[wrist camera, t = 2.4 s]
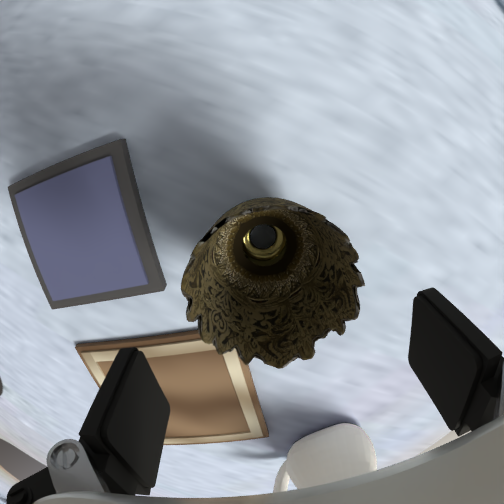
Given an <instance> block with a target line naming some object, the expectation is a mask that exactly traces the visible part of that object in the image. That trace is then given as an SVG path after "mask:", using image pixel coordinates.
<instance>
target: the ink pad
mask: <svg viewBox="0 0 504 504" xmlns="http://www.w3.org/2000/svg"><path fill="white" fill-rule="evenodd" d="M8 190H9V194H10V198H11V201H12V205H13V209H14V212H15V215H16V219H17V222H18V225H19V228H20V231H21V234H22V237H23V240H24V243H25V246H26V248H27V251H28V254H29V257H30V259H31V262H32V264H33V267H34V269H35V272H36V274H37V277H38V279H39V282H40V284H41V286H42V289H43V291H44V293H45V295H46V298H47V300H48V302H49V304H50V306H51V308H52V309H58V308H64V307H70V306H77V305H83V304H89V303H95V302H101V301H107V300H113V299H119V298H125V297H131V296H137V295H143V294H148V293H154V292H160V291H164V289H165V287H166V285H167V284H166V281H165V278H164V275H163V272H162V269H161V266H160V263H159V260H158V257H157V254H156V250H155V247H154V244H153V241H152V237H151V234H150V231H149V227H148V224H147V221H146V217H145V214H144V210H143V207H142V203H141V199H140V196H139V192H138V188H137V184H136V180H135V177H134V173H133V169H132V165H131V160H130V156H129V152H128V148H127V143H126V139H120V140H117V141H114V142H111V143H108V144H105V145H103V146H100V147H97V148H94V149H92V150H89V151H87V152H84V153H81V154H79V155H76V156H74V157H72V158H69V159H67V160H64V161H62V162H60V163H57V164H55V165H53V166H50V167H48V168H46V169H44V170H41V171H39V172H37V173H35V174H33V175H31V176H29V177H27V178H25V179H22V180H20V181H18V182H16V183H14V184H12V185H11V186H9V187H8Z"/></svg>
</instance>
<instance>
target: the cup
mask: <svg viewBox="0 0 504 504" xmlns="http://www.w3.org/2000/svg"><path fill="white" fill-rule="evenodd" d="M325 218H326V217H325V216H323V215H321V214H319V213H317V212H314V211H312V210H310V209H308V208H306V207H304V206H302V205H300V204H297V203H295V202H292V201H289V200H286V199H281V198H271V197H266V198H257V199H252V200H249V201H246V202H243V203H241V204H239V205H237V206H235V207H233V208H232V209H230V210H229V211H227V212H226V213H225V214H224V215H223V216H222V217H221V218H219V219H218V220H217V222H216V223H215V224H214V225H213V226H212V227H211V229H210V230H209V231H208V232H207V233H206V235H205V236H204V237H203V238H202V239H201V240H200V241H199V242H198V243H197V245H196V246H195V248H194V250H193V252H192V254H191V258H190V260H189V263H188V265H187V267H186V269H185V271H184V274H183V278H182V283H181V291H182V294H183V295H184V297H186V299H187V301H188V306H187V310H186V316H187V320H188V322H194V321H196V320H198V332H199V335H200V337H201V339H202V341H203V342H204V343H207V344H209V345H210V344H213V346H215V348H216V351H217V353H218V354H219V355H221V354H225V353H227V352H231V351H233V350H234V348H235V349H236V351H237V353H238V357H239V358H240V359H241V360H242V361H243V363H244V364H245V365H248V364H249V363H250V362H251V360H252V359H253V358H254V357H255V358H258V359H260V360H262V361H263V362H264V364H267V365H270V366H273V367H276V368H284V367H285V366H287V365H288V364H289V363H290V362H292V361H294V360H295V359H297V358H301V359H302V360H307V359H311V358H313V356H314V354H315V350H314V346H315V341H317V340H318V339H321V338H325V337H326V336H327V334H328V333H329V331H331V330H332V331H336V332H337V333H338V334H339V335H340V336H341V335H343V334H344V332H345V329H346V326H345V321H350V320H355V319H357V318H358V315H359V312H360V304H359V298H358V295H357V287H362V286H365V283H364V280H363V277H362V274H361V272H360V271H359V270H358V269H357V268H356V266H355V265H354V263H357V262H358V261H357V260H358V259H359V256H358V253H357V252H356V250H355V249H354V248H353V247H352V244H351V243H350V240H349V238H348V236H347V235H346V234H345V233H344V232H343V231H342V230H341V229H339V228H338V227H337V226H336V225H334V224H333V223H331V222H329V221H328V220H326V219H325ZM262 224H266V225H269V226H271V227H272V228H273V229H274V231H275V233H276V240H275V242H274V244H273V245H272V246H271V247H269V248H267V249H259V248H257V247H255V246H254V245H253V244H252V243H251V240H250V233H251V231H252V229H253V228H254V227H256V226H258V225H262Z"/></svg>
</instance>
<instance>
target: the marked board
mask: <svg viewBox="0 0 504 504" xmlns="http://www.w3.org/2000/svg"><path fill="white" fill-rule="evenodd" d="M131 347H136V348H137V349H138V350H139V351H142V352H143V353H144V355H145V357H146V359H147V361H148V363H149V365H150V367H151V369H152V371H153V373H154V375H155V377H156V379H157V381H158V383H159V385H160V387H161V389H162V391H163V393H164V395H165V397H166V398H167V400H168V402H169V405H170V416H169V421H168V425H167V430H166V434H165V439H164V444H163V445H187V444H207V443H220V442H232V441H241V440H250V439H258V438H265V437H269V433H268V429H267V426H266V423H265V420H264V416H263V413H262V410H261V406H260V403H259V400H258V396H257V393H256V390H255V386H254V383H253V379H252V376H251V372H250V369H249V365H245V364H244V363H243V361H242V360H241V359H240V358H239V357H238V353H237V351H236V349H235V348H234V350H233V351H231V352H227V353H225V354H221V355H219V354H218V353H217V351H216V348H215V346H213V344H210V345H209V344H207V343H204V342H203V341H202V339H201V337H200V335H199V332H198V330H193V331H186V332H179V333H172V334H165V335H157V336H149V337H141V338H133V339H124V340H114V341H104V342H94V343H83V344H77V345H76V347H75V348H76V350H77V352H78V354H79V355H80V357H81V359H82V361H83V362H84V364H85V366H86V367H87V369H88V371H89V372H90V374H91V376H92V377H93V379H94V381H95V382H96V384H97V385H98V387H99V388H100V387H101V385H102V383H103V381H104V379H105V377H106V375H107V373H108V371H109V369H110V367H111V365H112V363H113V361H114V359H115V357H116V355H117V353H118V351H119V350H120V349H121V348H131Z"/></svg>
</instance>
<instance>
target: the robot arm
mask: <svg viewBox="0 0 504 504" xmlns="http://www.w3.org/2000/svg"><path fill="white" fill-rule="evenodd" d="M501 355H502V352H501V351H500V350H499V348H498V347H497V346H496V345H495V344H494V343H493V342H492V341H491V340H490V339H489V338H488V337H487V336H486V335H485V334H484V333H483V332H482V331H480V330H479V329H478V328H477V327H476V326H475V325H474V324H473V323H472V322H471V321H470V320H469V319H468V318H467V317H466V316H465V315H464V314H463V313H462V312H461V311H459V310H458V309H457V308H456V307H455V306H454V305H453V304H452V303H451V302H450V301H449V300H447V299H446V298H445V297H444V296H443V295H442V294H441V293H440V292H439V291H437V290H436V289H435V288H429V289H426V290H422V291H419V292H418V294H417V297H415V298H414V300H413V313H412V326H411V337H410V346H409V354H408V360H409V364H410V366H411V368H412V369H413V371H414V372H415V374H416V376H417V377H418V379H419V380H420V382H421V383H422V385H423V387H424V388H425V390H426V391H427V393H428V395H429V396H430V398H431V399H432V401H433V403H434V404H435V406H436V407H437V409H438V411H439V412H440V414H441V416H442V417H443V419H444V421H445V422H446V424H447V426H448V428H449V429H450V430H452V431H453V430H455V432H456V434H457V435H458V436H460V435H462V434H464V433H466V432H468V431H470V430H471V431H472V432H470V433H468V434H466V435H464V436H462V437H460V438H457V439H455V440H453V441H451V442H449V443H446V444H444V445H442V446H440V447H437V448H435V449H433V450H431V451H428V452H426V453H423V454H421V455H418V456H416V457H413V458H410V459H408V460H405V461H402V462H400V463H397V464H394V465H391V466H388V467H385V468H382V469H379V470H376V471H372V472H369V473H366V474H362V475H359V476H355V477H351V478H348V479H344V480H340V481H335V482H331V483H327V484H322V485H317V486H312V487H307V488H302V489H296V490H290V491H283V492H276V493H269V494H260V495H250V496H238V497H221V498H167V497H147V496H135V494H140V495H150V490H151V488H153V487H154V486H155V484H156V479H157V474H158V468H159V463H160V458H161V454H162V449H163V444H164V439H165V434H166V430H167V425H168V421H169V416H170V405H169V402H168V400H167V398H166V397H165V395H164V393H163V391H162V389H161V387H160V385H159V383H158V381H157V379H156V377H155V375H154V373H153V371H152V369H151V367H150V365H149V363H148V361H147V359H146V357H145V355H144V353H143V352H142V351H139V350H138V349H137V348H136V347H131V348H121V349H120V350H119V351H118V353H117V355H116V357H115V359H114V361H113V363H112V365H111V367H110V369H109V371H108V373H107V375H106V377H105V379H104V381H103V383H102V385H101V387H100V389H99V391H98V393H97V395H96V397H95V400H94V402H93V404H92V406H91V408H90V410H89V412H88V415H87V417H86V419H85V421H84V423H83V425H82V428H81V430H80V432H79V435H80V439H79V441H77V440H73V439H65V440H62V441H59V442H58V443H56V444H55V445H54V446H53V447H52V448H51V449H50V451H49V453H48V455H47V466H48V467H46V468H45V469H43V470H41V471H39V472H37V473H35V474H34V475H32V476H30V477H28V478H26V479H24V480H23V481H20V482H18V483H16V484H15V485H14V486H12V488H11V489H10V490H9V492H8V494H7V504H504V358H503V357H502V356H501Z"/></svg>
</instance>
